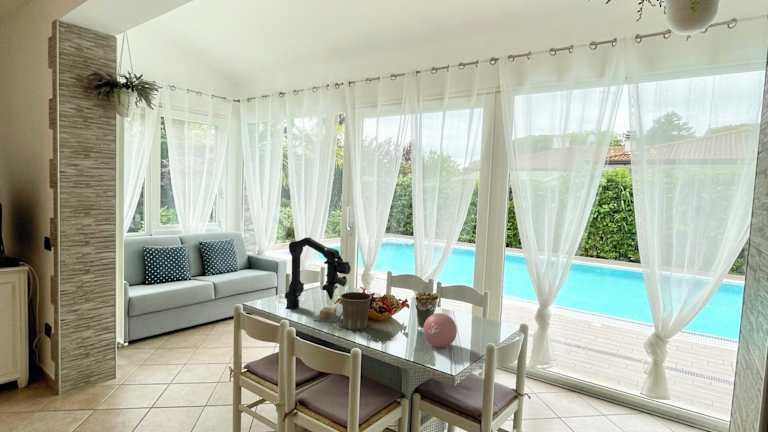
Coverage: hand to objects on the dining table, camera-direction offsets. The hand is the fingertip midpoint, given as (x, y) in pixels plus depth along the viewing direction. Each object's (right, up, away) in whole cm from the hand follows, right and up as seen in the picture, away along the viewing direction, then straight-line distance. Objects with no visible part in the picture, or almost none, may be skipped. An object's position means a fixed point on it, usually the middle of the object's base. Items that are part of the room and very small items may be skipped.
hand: (331, 299), depth 229 cm
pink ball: (+54, -14, -43) cm, 71 cm away
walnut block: (-1, -6, -2) cm, 6 cm away
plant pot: (+15, -11, -18) cm, 25 cm away
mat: (-1, -9, -3) cm, 9 cm away
